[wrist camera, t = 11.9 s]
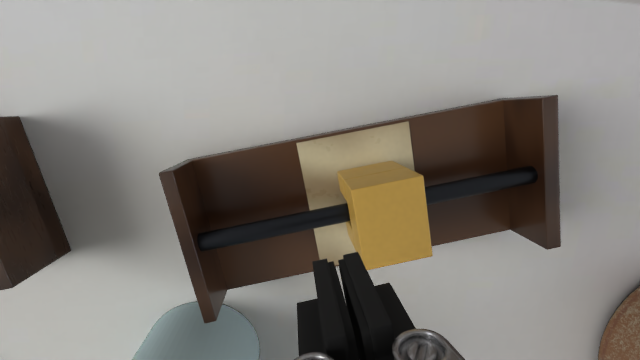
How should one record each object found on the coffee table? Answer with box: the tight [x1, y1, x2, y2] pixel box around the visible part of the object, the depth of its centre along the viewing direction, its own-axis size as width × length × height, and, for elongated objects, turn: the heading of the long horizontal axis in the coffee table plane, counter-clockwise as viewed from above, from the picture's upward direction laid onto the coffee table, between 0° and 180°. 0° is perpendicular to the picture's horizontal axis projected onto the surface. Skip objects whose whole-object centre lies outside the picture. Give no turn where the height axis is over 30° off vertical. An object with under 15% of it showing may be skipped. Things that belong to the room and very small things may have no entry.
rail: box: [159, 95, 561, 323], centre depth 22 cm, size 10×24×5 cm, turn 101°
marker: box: [337, 161, 432, 270], centre depth 20 cm, size 5×4×6 cm
